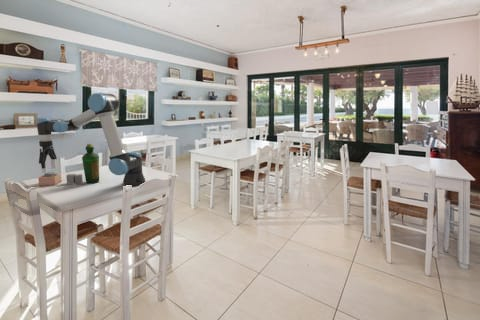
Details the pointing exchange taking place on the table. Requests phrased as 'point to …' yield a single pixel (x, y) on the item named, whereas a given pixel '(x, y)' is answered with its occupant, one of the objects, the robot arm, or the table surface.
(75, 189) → the table surface
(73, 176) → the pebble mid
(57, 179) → the terracotta bin
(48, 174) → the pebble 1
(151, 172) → the table surface
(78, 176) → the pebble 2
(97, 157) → the bottle
